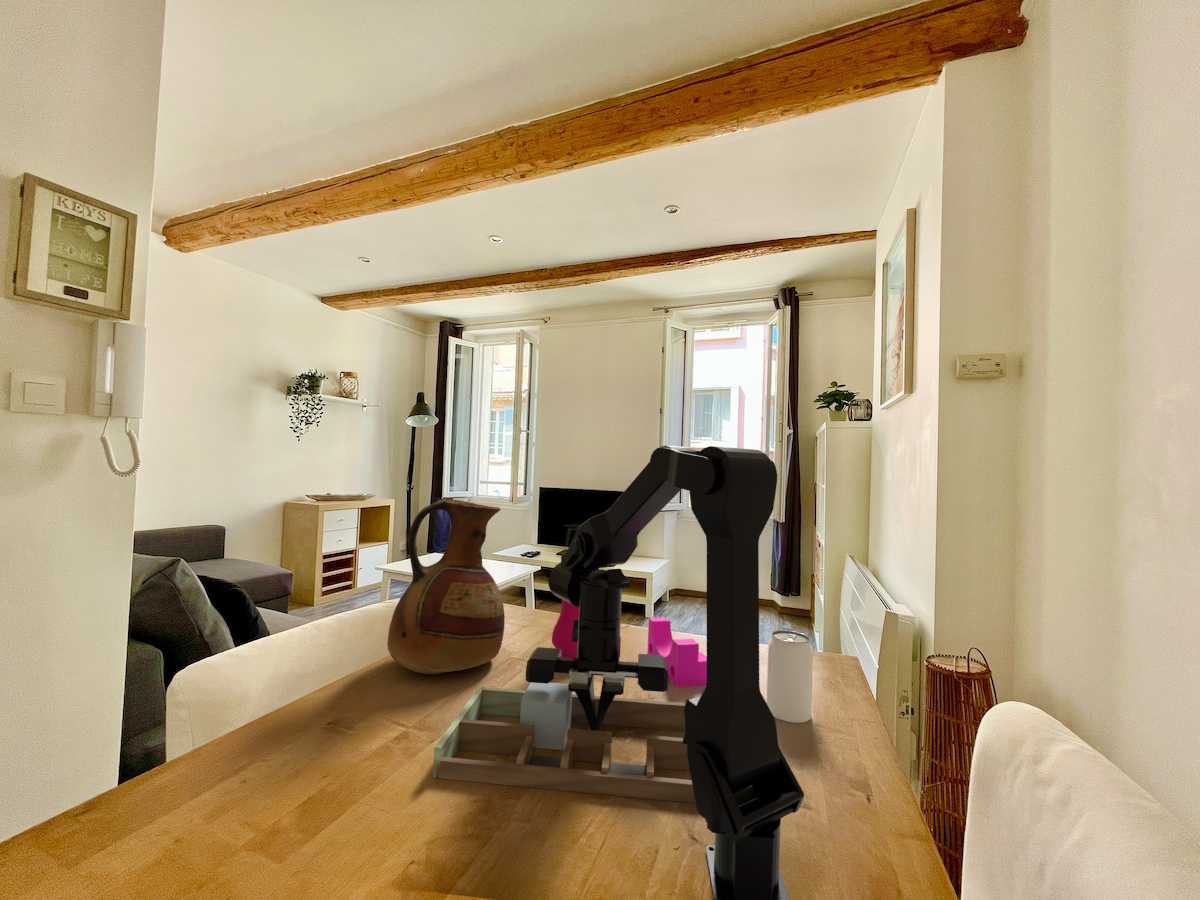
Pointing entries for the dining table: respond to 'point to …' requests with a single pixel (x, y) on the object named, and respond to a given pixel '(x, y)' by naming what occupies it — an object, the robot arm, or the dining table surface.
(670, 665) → the toy block
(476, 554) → the ceramic pitcher
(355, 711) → the dining table surface
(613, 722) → the wooden compartment tray
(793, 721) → the can
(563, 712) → the cube
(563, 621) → the pepper mill
